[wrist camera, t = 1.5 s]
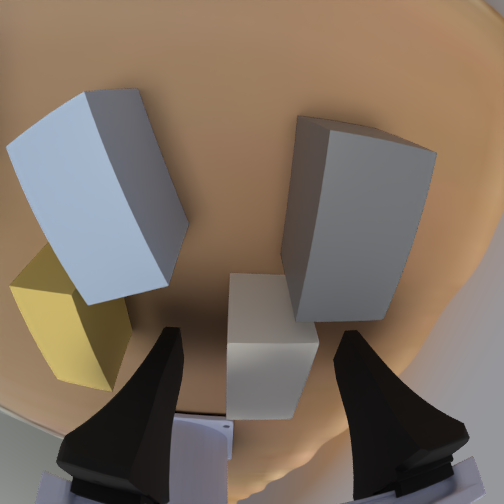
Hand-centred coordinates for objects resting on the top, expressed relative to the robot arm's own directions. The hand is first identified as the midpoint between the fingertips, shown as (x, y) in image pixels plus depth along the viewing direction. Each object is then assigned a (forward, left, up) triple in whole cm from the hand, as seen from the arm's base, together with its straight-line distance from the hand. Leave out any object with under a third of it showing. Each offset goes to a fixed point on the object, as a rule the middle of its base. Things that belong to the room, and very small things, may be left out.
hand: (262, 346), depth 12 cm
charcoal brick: (+6, -2, -2) cm, 7 cm away
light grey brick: (0, 0, -2) cm, 2 cm away
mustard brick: (+1, +8, -2) cm, 8 cm away
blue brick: (+7, +6, -2) cm, 9 cm away
